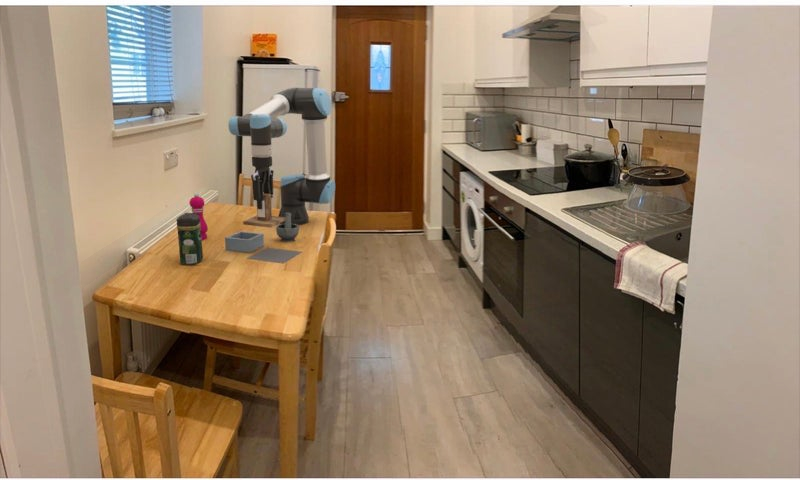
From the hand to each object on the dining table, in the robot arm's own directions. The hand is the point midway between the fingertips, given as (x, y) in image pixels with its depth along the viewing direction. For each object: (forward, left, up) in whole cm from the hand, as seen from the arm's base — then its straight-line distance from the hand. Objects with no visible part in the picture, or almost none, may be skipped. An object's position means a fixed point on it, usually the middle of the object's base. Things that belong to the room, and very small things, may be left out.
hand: (264, 215), depth 214 cm
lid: (0, 0, -3) cm, 3 cm away
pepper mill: (-9, -38, -16) cm, 42 cm away
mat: (+2, +5, -16) cm, 17 cm away
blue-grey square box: (-2, -11, -16) cm, 20 cm away
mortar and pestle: (-20, -1, -16) cm, 26 cm away
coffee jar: (+19, -21, -16) cm, 32 cm away
